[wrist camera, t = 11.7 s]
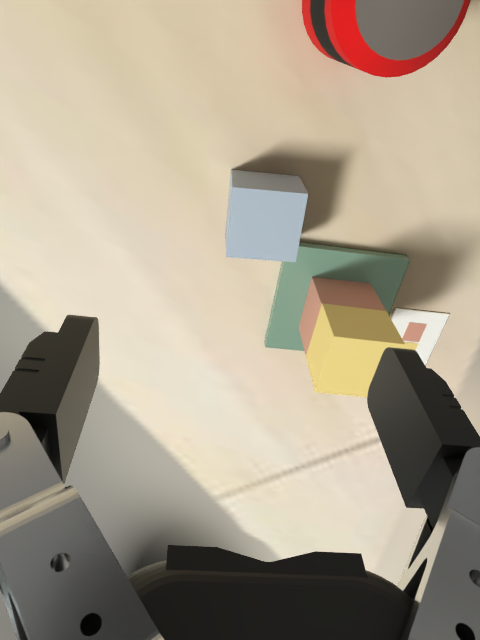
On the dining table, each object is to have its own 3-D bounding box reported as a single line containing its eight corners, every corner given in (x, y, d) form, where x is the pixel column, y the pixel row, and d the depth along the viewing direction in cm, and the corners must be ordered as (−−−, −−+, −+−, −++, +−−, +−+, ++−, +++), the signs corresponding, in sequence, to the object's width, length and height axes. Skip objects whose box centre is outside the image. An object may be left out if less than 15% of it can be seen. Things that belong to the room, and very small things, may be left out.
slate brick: (231, 169, 40) (232, 187, 36) (298, 175, 40) (308, 193, 36) (225, 233, 43) (226, 257, 39) (288, 238, 44) (295, 262, 39)
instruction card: (395, 307, 48) (396, 308, 48) (448, 313, 49) (449, 314, 49) (372, 366, 53) (373, 367, 53) (421, 370, 53) (422, 372, 53)
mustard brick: (322, 303, 41) (333, 336, 36) (386, 311, 41) (405, 344, 37) (305, 356, 44) (315, 392, 40) (365, 362, 45) (380, 398, 40)
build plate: (286, 240, 44) (288, 245, 43) (406, 255, 45) (409, 260, 44) (264, 341, 50) (265, 347, 49) (369, 351, 51) (371, 357, 51)
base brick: (311, 276, 45) (321, 303, 41) (370, 283, 45) (386, 310, 41) (298, 327, 48) (306, 356, 44) (353, 332, 49) (366, 362, 45)
